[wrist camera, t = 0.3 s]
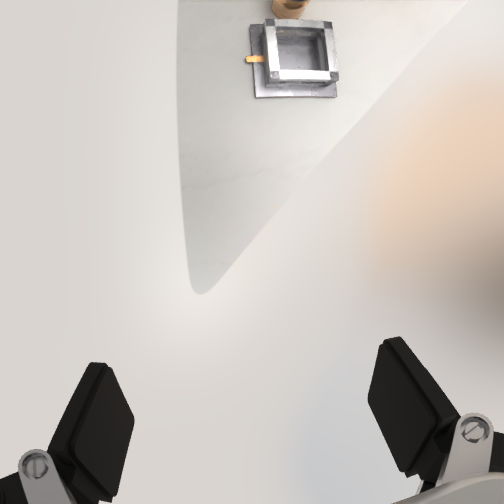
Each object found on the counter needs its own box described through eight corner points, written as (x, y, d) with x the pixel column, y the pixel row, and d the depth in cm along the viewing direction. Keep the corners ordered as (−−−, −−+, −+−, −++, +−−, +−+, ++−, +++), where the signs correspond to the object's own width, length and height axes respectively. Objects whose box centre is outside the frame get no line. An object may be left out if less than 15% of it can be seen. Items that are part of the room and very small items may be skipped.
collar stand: (243, 27, 30) (245, 10, 25) (326, 29, 30) (340, 14, 25) (249, 98, 33) (251, 90, 28) (334, 97, 34) (350, 91, 29)
